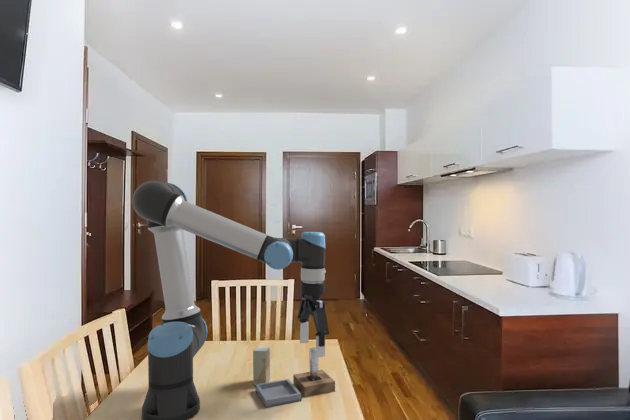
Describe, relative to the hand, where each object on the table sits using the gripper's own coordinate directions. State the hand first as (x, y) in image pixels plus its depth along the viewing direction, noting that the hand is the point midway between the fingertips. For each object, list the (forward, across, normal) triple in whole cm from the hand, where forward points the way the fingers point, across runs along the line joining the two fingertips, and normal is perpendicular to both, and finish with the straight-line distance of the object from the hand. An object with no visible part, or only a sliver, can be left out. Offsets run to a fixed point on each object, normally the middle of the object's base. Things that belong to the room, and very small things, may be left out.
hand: (311, 349), depth 128 cm
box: (+13, +10, +13) cm, 21 cm away
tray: (+12, -1, +11) cm, 17 cm away
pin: (+12, 0, -1) cm, 12 cm away
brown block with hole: (+12, 0, -1) cm, 12 cm away
